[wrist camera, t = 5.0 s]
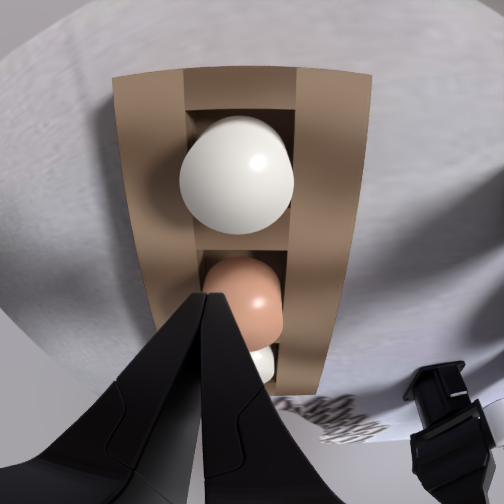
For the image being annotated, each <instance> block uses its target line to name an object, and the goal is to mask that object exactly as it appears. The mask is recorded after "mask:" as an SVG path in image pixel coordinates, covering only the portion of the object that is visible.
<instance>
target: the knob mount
mask: <svg viewBox="0 0 504 504" xmlns="http://www.w3.org/2000/svg"><path fill="white" fill-rule="evenodd" d="M112 84H113V97H114V108H115V119H116V128H117V137H118V145H119V152H120V160H121V167H122V174H123V180H124V186H125V192H126V198H127V204H128V210H129V215H130V221H131V226H132V231H133V236H134V241H135V246H136V250H137V255H138V259H139V264H140V268H141V273H142V277H143V281H144V285H145V289H146V293H147V297H148V301H149V305H150V309H151V313H152V317H153V320H154V324H155V327H156V331H158V330H159V329H160V328H161V327H162V326H163V324H164V323H165V322H166V321H167V320H168V319H169V318H170V316H171V315H172V314H173V313H174V312H175V311H176V310H177V309H178V307H179V306H180V305H181V304H182V303H183V302H184V301H185V300H186V298H187V297H188V296H189V295H190V294H191V293H193V292H202V291H203V286H204V282H205V278H206V275H207V273H208V272H209V270H210V269H211V268H212V267H213V266H214V265H216V264H217V263H219V262H220V261H222V260H225V259H228V258H232V257H250V258H254V259H257V260H260V261H262V262H264V263H266V264H267V265H268V266H270V267H271V268H272V269H273V270H274V271H275V273H276V274H277V276H278V278H279V281H280V289H281V301H282V314H283V329H282V332H281V334H280V336H279V337H278V338H277V340H276V341H275V342H273V351H274V375H273V377H272V378H271V379H270V380H269V381H268V382H266V383H264V386H265V389H266V390H267V392H268V394H269V396H287V395H316V392H317V388H318V385H319V381H320V378H321V374H322V371H323V367H324V363H325V360H326V356H327V352H328V348H329V344H330V340H331V336H332V332H333V328H334V324H335V320H336V315H337V311H338V307H339V302H340V298H341V293H342V289H343V284H344V279H345V274H346V269H347V264H348V259H349V254H350V249H351V243H352V238H353V232H354V226H355V220H356V214H357V208H358V202H359V195H360V188H361V181H362V174H363V166H364V158H365V150H366V141H367V132H368V122H369V111H370V99H371V85H372V75H368V74H361V73H354V72H346V71H337V70H327V69H315V68H301V67H281V66H221V67H200V68H186V69H175V70H165V71H156V72H148V73H140V74H134V75H127V76H121V77H115V78H112ZM231 116H249V117H253V118H256V119H259V120H261V121H263V122H265V123H267V124H268V125H270V126H271V127H272V128H273V129H274V130H275V131H276V132H277V133H278V134H279V136H280V137H281V139H282V141H283V143H284V145H285V148H286V151H287V155H288V158H289V161H290V164H291V167H292V171H293V176H294V188H293V194H292V198H291V200H290V203H289V205H288V207H287V208H286V210H285V211H284V213H283V214H282V215H281V216H280V217H279V218H278V219H277V220H276V221H275V222H274V223H272V224H271V225H269V226H268V227H266V228H264V229H262V230H259V231H256V232H253V233H248V234H238V235H237V234H227V233H222V232H219V231H216V230H213V229H211V228H209V227H207V226H206V225H204V224H203V223H201V222H200V221H199V220H197V219H196V218H195V217H194V216H193V215H192V213H191V212H190V211H189V209H188V208H187V206H186V205H185V202H184V200H183V198H182V195H181V191H180V182H179V178H180V170H181V167H182V164H183V161H184V159H185V157H186V155H187V154H188V152H189V151H190V149H191V148H192V147H193V145H194V144H195V142H196V141H197V140H198V138H199V137H200V136H201V134H202V133H203V132H204V131H205V130H206V129H207V128H208V127H209V126H210V125H212V124H213V123H215V122H217V121H219V120H221V119H223V118H226V117H231Z"/></svg>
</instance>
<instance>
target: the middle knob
mask: <svg viewBox="0 0 504 504" xmlns="http://www.w3.org/2000/svg"><path fill="white" fill-rule="evenodd" d="M202 292H206V293H207V294H209V293H210V292H222V293H224V294H225V296H226V299H227V301H228V303H229V306H230V308H231V311H232V313H233V315H234V318H235V320H236V322H237V325H238V327H239V329H240V332H241V334H242V336H243V338H244V341H245V343H246V345H247V348H248V350H249V352H253V351H258V350H261V349H263V348H266V347H267V346H269V345H271V344H272V343H273V342H275V341H276V340H277V338H278V337H279V336H280V334H281V332H282V329H283V314H282V301H281V289H280V281H279V278H278V276H277V274H276V273H275V271H274V270H273V269H272V268H271V267H270V266H268V265H267V264H266V263H264V262H262V261H260V260H257V259H254V258H250V257H232V258H228V259H225V260H222V261H220V262H219V263H217V264H216V265H214V266H213V267H212V268H211V269H210V270H209V272H208V273H207V275H206V278H205V282H204V286H203V291H202Z"/></svg>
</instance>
